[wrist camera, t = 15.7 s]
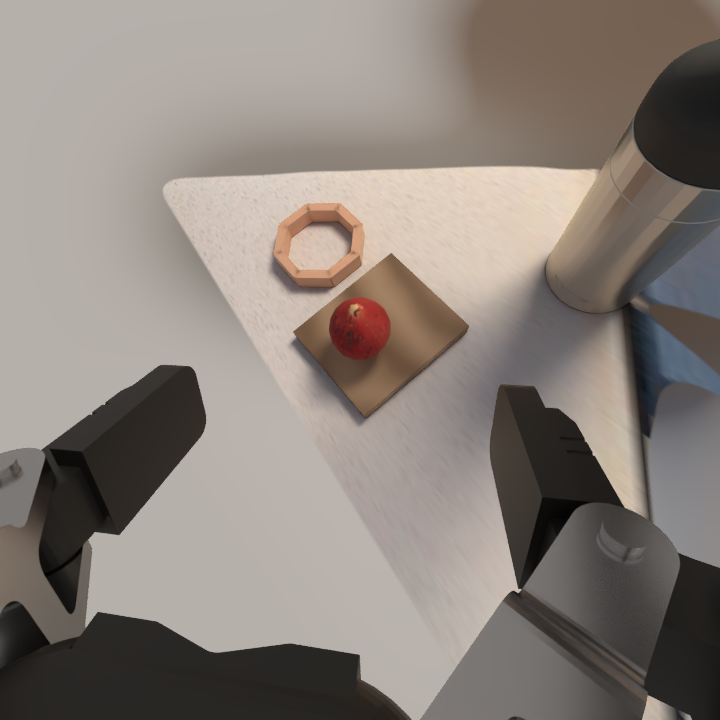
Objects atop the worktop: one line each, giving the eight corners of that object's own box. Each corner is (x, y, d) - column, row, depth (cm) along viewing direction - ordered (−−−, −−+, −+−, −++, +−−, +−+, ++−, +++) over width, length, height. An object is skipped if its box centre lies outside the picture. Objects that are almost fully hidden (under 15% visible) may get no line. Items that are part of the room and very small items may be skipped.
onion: (378, 377, 38) (370, 351, 31) (327, 357, 40) (308, 327, 32) (400, 327, 40) (398, 290, 32) (350, 309, 41) (337, 270, 34)
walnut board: (391, 260, 44) (391, 253, 43) (467, 331, 40) (469, 325, 39) (296, 336, 43) (292, 331, 41) (365, 418, 39) (363, 415, 37)
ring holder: (328, 200, 48) (325, 189, 46) (380, 249, 45) (379, 239, 43) (265, 249, 47) (259, 239, 45) (314, 302, 44) (309, 294, 42)
